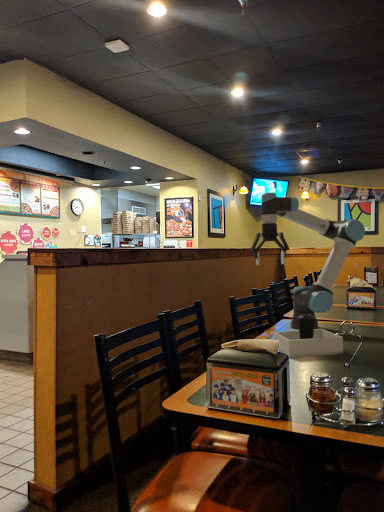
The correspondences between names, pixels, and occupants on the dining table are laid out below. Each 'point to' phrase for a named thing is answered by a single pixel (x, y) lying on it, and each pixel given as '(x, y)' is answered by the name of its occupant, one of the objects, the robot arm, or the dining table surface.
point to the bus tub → (309, 343)
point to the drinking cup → (306, 325)
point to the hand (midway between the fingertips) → (270, 264)
